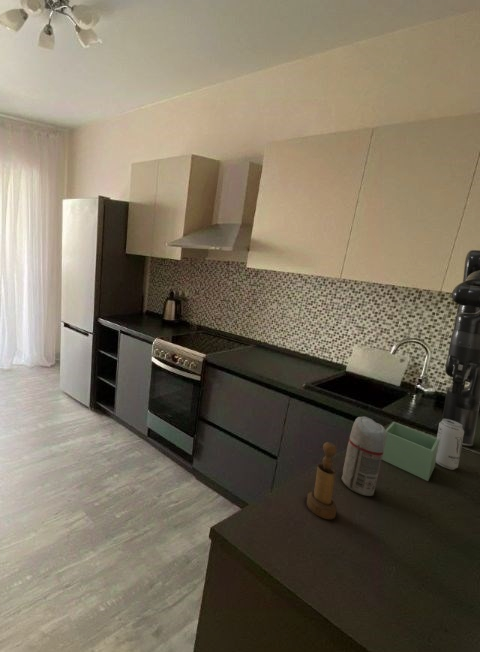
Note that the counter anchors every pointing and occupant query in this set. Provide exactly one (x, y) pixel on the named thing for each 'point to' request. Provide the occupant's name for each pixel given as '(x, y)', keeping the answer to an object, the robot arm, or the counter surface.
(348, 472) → the spray can
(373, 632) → the counter surface
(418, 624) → the counter surface
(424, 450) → the waste bin
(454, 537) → the counter surface
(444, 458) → the energy drink can
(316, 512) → the mortar and pestle
